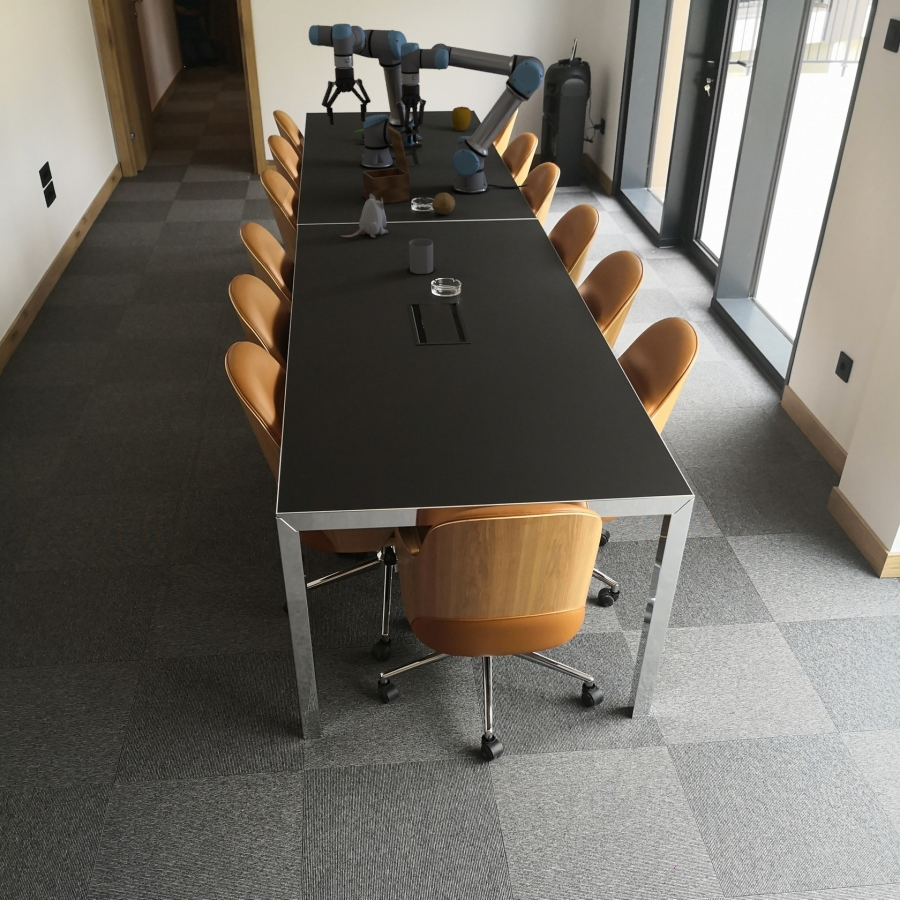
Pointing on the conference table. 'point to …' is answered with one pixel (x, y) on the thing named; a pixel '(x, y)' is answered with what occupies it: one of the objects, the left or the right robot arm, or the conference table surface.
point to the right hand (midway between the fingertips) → (411, 142)
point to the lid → (400, 147)
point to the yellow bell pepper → (461, 118)
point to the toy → (372, 218)
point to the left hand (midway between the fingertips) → (347, 122)
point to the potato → (443, 203)
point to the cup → (421, 256)
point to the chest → (386, 185)
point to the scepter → (362, 137)
